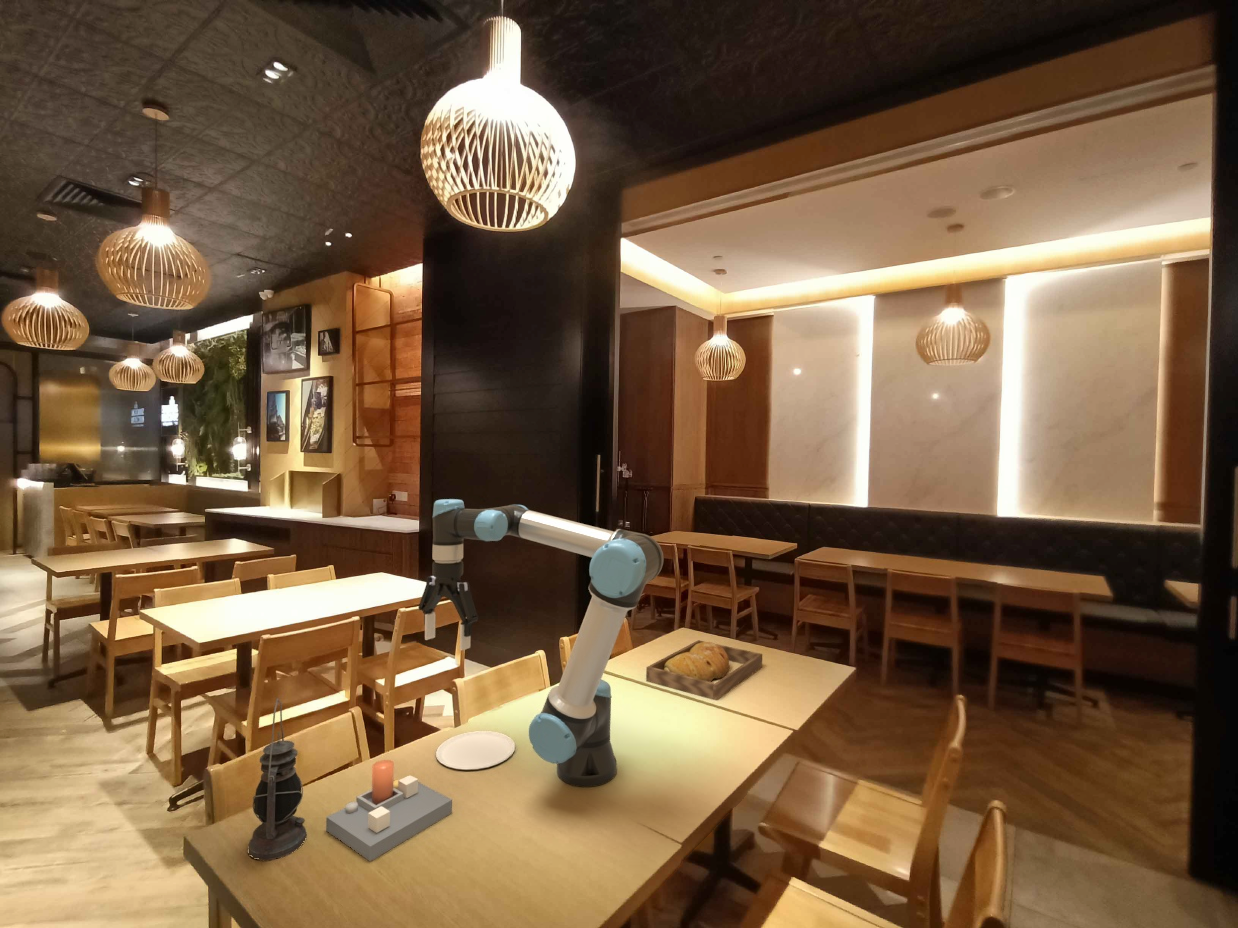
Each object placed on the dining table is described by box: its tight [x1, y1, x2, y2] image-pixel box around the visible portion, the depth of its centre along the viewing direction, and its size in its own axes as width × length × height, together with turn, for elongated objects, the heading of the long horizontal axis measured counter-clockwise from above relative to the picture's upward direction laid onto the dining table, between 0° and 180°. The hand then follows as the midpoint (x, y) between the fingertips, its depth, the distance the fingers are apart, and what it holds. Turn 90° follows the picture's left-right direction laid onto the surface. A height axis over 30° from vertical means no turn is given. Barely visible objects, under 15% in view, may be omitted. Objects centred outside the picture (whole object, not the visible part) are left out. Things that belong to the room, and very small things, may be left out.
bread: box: [664, 641, 730, 682], centre depth 225 cm, size 32×20×10 cm, turn 144°
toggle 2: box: [398, 775, 419, 798], centre depth 136 cm, size 3×3×3 cm
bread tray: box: [645, 639, 763, 701], centre depth 223 cm, size 27×39×5 cm
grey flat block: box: [325, 779, 453, 862], centre depth 131 cm, size 16×20×4 cm
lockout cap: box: [371, 759, 395, 805], centre depth 134 cm, size 4×4×8 cm
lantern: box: [247, 697, 308, 861], centre depth 123 cm, size 12×11×30 cm
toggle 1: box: [368, 806, 390, 833], centre depth 124 cm, size 3×3×3 cm
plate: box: [435, 730, 516, 771], centre depth 162 cm, size 21×21×1 cm
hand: (447, 643), depth 154 cm, fingers open, 13 cm apart
